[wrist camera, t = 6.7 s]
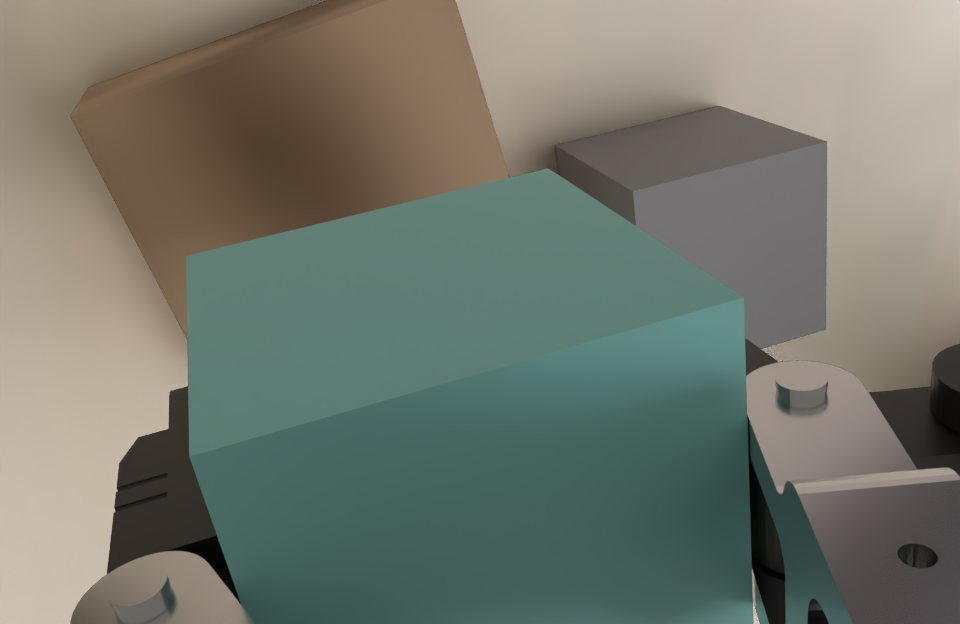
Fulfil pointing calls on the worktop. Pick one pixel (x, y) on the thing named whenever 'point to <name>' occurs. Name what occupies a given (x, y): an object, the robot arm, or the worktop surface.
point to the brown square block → (290, 128)
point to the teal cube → (472, 417)
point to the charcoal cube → (723, 206)
